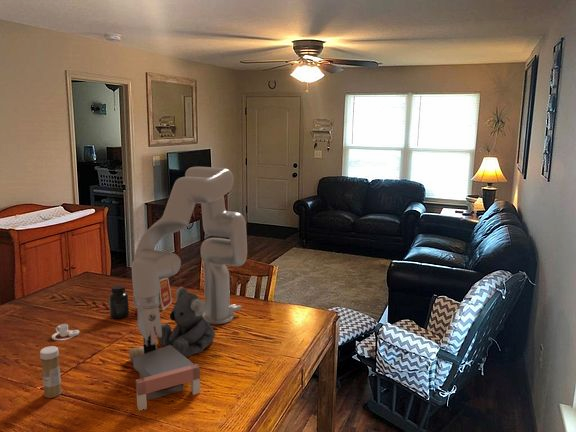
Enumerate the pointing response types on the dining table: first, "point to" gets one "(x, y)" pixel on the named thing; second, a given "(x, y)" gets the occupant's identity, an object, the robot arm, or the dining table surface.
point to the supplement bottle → (119, 303)
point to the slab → (160, 361)
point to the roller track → (135, 353)
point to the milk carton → (164, 294)
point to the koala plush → (187, 325)
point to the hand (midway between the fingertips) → (150, 356)
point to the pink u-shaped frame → (167, 382)
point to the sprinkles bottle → (51, 371)
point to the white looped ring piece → (65, 332)
